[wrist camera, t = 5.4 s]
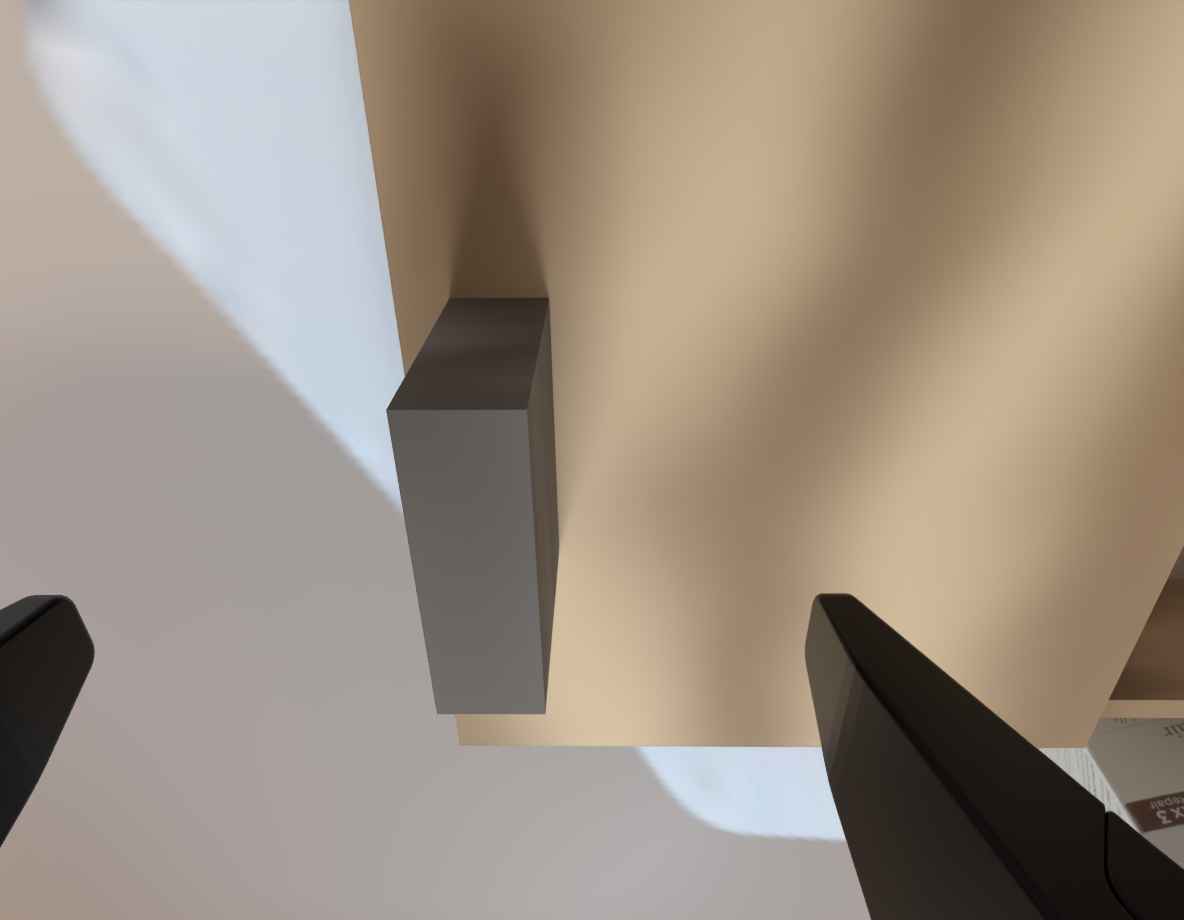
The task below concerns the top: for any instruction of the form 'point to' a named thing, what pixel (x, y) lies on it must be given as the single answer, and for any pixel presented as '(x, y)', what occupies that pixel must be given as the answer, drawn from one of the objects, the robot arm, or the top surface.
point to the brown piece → (1155, 660)
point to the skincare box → (1136, 775)
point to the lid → (779, 349)
